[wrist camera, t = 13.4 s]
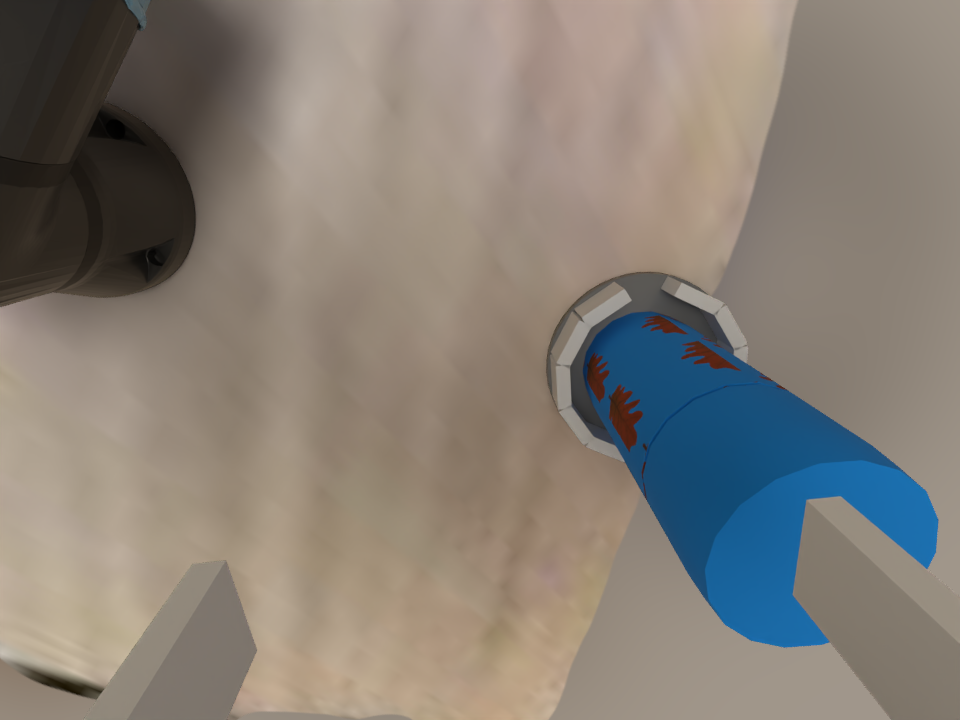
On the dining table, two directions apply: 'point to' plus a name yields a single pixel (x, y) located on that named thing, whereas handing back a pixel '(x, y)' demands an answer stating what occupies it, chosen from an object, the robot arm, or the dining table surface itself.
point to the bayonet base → (610, 305)
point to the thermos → (739, 469)
